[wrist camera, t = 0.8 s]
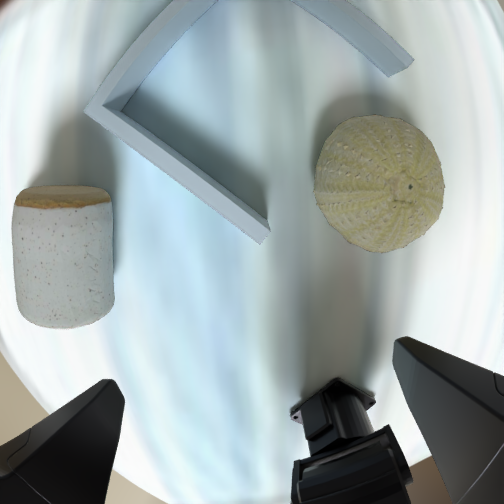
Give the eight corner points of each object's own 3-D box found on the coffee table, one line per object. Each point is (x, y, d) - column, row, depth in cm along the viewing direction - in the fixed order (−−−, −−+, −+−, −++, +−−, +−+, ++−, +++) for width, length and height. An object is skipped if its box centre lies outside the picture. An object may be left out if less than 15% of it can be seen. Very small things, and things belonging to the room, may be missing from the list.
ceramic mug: (131, 184, 19) (70, 200, 12) (130, 290, 21) (84, 346, 14) (26, 179, 19) (-39, 194, 11) (32, 270, 21) (-23, 307, 14)
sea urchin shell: (329, 84, 15) (457, 115, 11) (372, 128, 21) (461, 159, 17) (281, 219, 18) (398, 281, 13) (335, 228, 24) (419, 271, 19)
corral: (394, 69, 16) (414, 59, 14) (258, 232, 20) (259, 244, 17) (244, -36, 14) (244, -57, 11) (103, 116, 17) (83, 111, 15)
